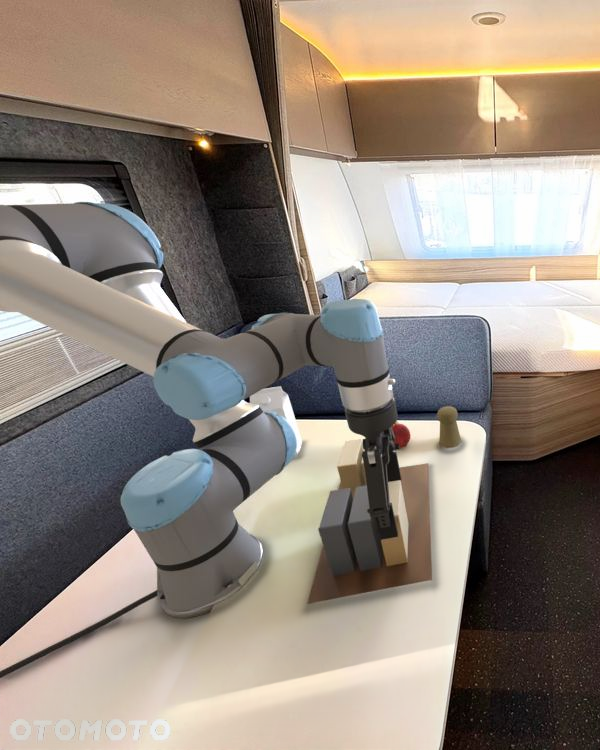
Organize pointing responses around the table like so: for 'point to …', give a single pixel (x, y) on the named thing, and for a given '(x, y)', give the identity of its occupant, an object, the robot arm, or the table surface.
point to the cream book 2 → (397, 546)
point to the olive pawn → (448, 427)
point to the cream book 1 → (351, 465)
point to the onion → (401, 434)
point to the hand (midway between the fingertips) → (392, 506)
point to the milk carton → (277, 407)
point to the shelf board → (385, 576)
